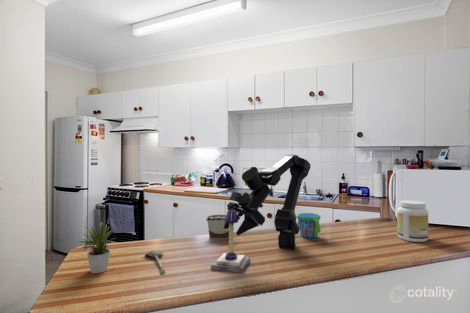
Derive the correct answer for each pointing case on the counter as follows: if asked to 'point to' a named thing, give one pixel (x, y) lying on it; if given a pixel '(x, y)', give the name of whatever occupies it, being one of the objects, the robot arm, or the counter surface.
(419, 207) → the supplement tub
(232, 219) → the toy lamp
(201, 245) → the counter surface
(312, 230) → the snack cup
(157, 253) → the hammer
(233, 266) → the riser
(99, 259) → the house plant
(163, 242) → the counter surface
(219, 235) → the food container
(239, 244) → the counter surface
